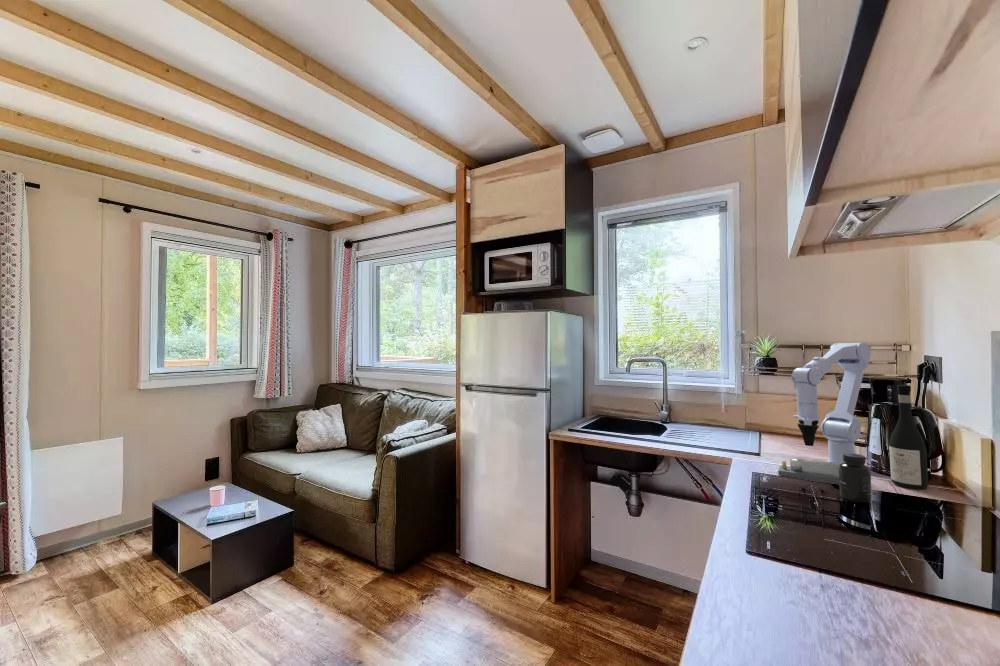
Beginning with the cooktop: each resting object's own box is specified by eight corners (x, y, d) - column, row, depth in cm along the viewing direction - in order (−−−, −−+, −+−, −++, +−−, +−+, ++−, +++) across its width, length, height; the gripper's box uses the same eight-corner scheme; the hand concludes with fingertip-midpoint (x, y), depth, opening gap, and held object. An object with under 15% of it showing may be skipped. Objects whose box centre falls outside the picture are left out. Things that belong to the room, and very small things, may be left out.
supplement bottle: (834, 496, 119) (832, 453, 119) (848, 492, 122) (846, 450, 122) (864, 504, 113) (861, 459, 113) (877, 500, 116) (875, 456, 116)
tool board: (780, 470, 145) (779, 458, 145) (864, 481, 132) (863, 468, 132) (778, 475, 140) (777, 462, 140) (866, 487, 126) (865, 473, 126)
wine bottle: (919, 491, 121) (912, 386, 123) (885, 483, 129) (879, 384, 130) (934, 487, 124) (928, 385, 126) (900, 480, 132) (895, 383, 133)
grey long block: (790, 467, 142) (790, 457, 143) (851, 475, 133) (850, 463, 133) (789, 471, 139) (789, 460, 139) (851, 479, 129) (851, 467, 129)
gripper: (793, 400, 152) (795, 438, 152) (791, 405, 141) (794, 446, 140) (818, 401, 148) (820, 440, 147) (818, 406, 136) (820, 448, 136)
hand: (809, 443), depth 143 cm, fingers open, 7 cm apart
